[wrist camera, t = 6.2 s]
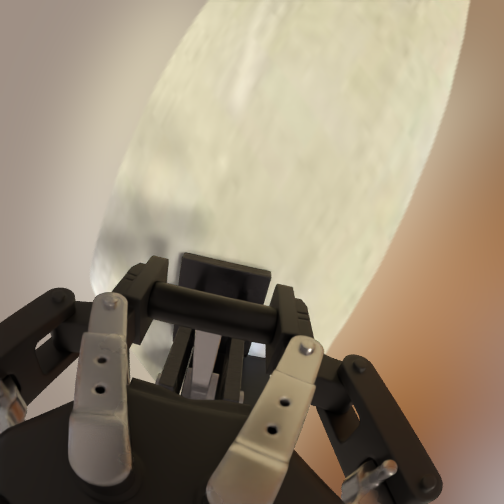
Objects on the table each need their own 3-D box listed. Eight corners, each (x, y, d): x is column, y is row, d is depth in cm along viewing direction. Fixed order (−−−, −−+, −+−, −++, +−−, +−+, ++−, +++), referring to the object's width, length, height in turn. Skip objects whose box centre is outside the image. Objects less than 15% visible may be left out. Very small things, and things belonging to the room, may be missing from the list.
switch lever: (161, 265, 12) (141, 311, 10) (279, 292, 12) (277, 342, 10) (168, 376, 20) (161, 404, 18) (233, 390, 20) (229, 419, 18)
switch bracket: (185, 252, 26) (132, 344, 14) (271, 271, 26) (276, 376, 15) (175, 334, 30) (140, 431, 18) (247, 350, 30) (240, 453, 19)
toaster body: (194, 343, 30) (168, 438, 19) (270, 358, 31) (272, 455, 19) (188, 382, 33) (168, 466, 21) (255, 395, 33) (252, 481, 22)
